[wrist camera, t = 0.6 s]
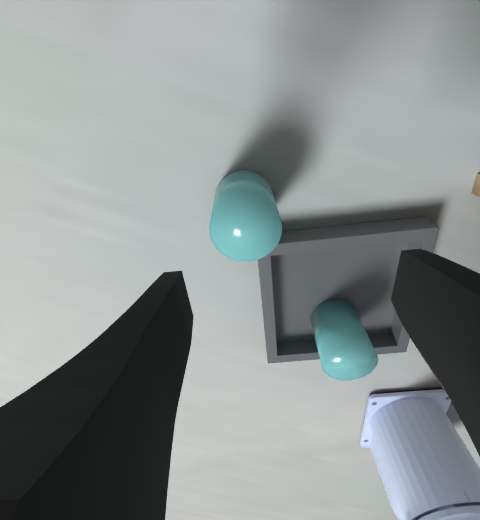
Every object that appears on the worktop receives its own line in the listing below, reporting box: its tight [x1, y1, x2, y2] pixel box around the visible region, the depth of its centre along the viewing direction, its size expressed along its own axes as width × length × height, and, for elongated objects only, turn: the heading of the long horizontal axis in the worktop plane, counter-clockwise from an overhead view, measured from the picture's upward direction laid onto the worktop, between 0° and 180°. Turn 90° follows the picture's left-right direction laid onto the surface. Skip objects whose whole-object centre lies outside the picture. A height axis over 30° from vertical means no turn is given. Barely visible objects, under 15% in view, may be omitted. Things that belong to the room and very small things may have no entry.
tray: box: [258, 217, 440, 363], centre depth 22 cm, size 11×11×2 cm
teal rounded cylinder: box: [310, 299, 378, 380], centre depth 21 cm, size 4×4×4 cm
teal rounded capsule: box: [209, 170, 282, 262], centre depth 16 cm, size 4×4×4 cm
